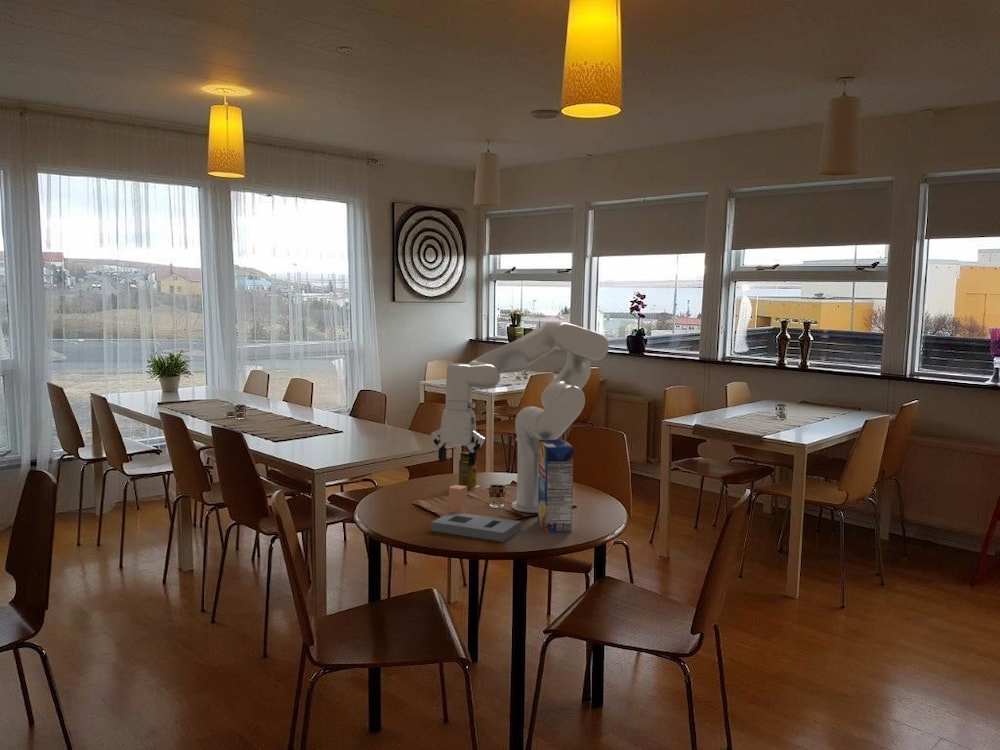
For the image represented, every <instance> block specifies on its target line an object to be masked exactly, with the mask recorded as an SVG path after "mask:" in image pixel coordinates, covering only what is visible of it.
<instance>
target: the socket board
mask: <svg viewBox="0 0 1000 750" xmlns="http://www.w3.org/2000/svg"><path fill="white" fill-rule="evenodd" d="M521 530H522V521H521V520H513V519H507V518H499V517H492V516H485V515H478V514H471V513H467V514H465V513H458V512H450V513H449V512H448V513H447V514H444V515H442V516H440V517H438V518H436V519H434V520H433V521H431V522H430V531H432V532H435V533H436V532H437V533H443V534H449V535H456V536H457V535H458V536H463V537H469V538H475V539H482V540H489V541H494V542H501V543H503V542H506V541H507V540H509V539H510V538H511V537H513V536H515V534H517V533H519V532H520V531H521Z"/></svg>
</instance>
